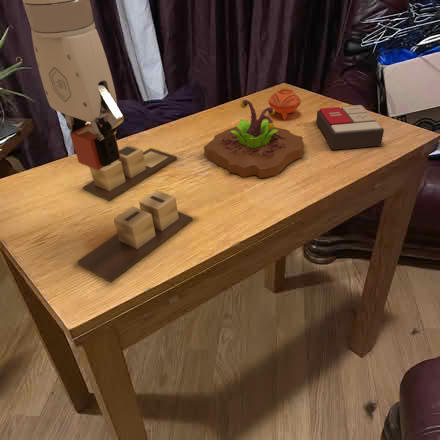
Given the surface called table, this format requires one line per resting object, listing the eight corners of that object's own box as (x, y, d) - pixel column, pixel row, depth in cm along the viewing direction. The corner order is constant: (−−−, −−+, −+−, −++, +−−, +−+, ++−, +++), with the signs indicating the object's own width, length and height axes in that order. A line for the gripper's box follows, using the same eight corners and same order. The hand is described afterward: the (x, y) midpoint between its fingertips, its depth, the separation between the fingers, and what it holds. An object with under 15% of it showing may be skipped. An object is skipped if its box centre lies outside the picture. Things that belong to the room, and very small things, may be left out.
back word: (83, 189, 87) (75, 166, 84) (151, 150, 98) (147, 128, 95) (109, 201, 84) (103, 177, 80) (177, 159, 94) (173, 136, 91)
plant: (247, 126, 104) (246, 77, 96) (316, 147, 95) (322, 95, 87) (190, 158, 94) (185, 107, 86) (261, 186, 84) (262, 130, 77)
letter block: (78, 162, 64) (69, 132, 61) (101, 150, 67) (93, 121, 63) (97, 170, 62) (89, 140, 59) (120, 158, 65) (113, 128, 61)
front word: (78, 264, 70) (68, 238, 67) (160, 206, 81) (156, 182, 78) (110, 282, 67) (102, 256, 63) (192, 220, 77) (189, 195, 74)
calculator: (362, 103, 102) (385, 126, 90) (359, 121, 104) (381, 145, 93) (317, 106, 101) (334, 130, 90) (315, 125, 104) (331, 150, 93)
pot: (261, 118, 107) (264, 88, 103) (274, 114, 112) (277, 86, 109) (291, 122, 103) (295, 91, 100) (303, 118, 109) (307, 89, 106)
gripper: (-5, 16, 53) (45, 153, 66) (80, 32, 45) (118, 184, 58) (45, 3, 57) (83, 135, 70) (131, 16, 49) (156, 162, 62)
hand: (98, 156), depth 64 cm, fingers closed on letter block, 4 cm apart
